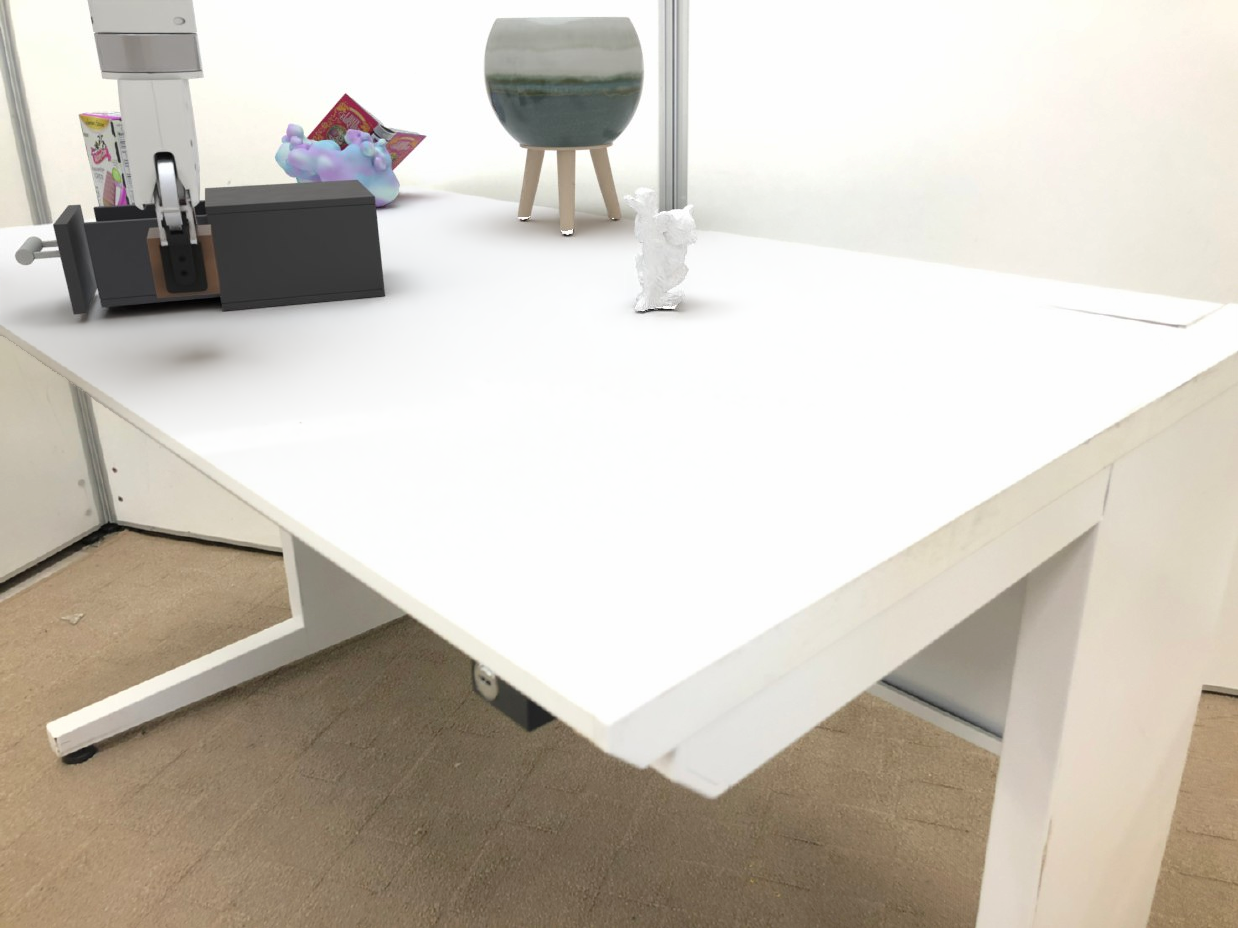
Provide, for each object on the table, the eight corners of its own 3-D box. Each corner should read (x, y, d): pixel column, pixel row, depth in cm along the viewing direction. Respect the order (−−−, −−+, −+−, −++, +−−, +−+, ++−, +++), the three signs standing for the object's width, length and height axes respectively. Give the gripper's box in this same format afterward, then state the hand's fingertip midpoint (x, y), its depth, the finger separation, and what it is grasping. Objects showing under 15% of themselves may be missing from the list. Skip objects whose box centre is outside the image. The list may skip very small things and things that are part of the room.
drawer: (24, 319, 97) (1, 228, 94) (42, 290, 108) (22, 207, 104) (239, 299, 104) (225, 213, 100) (236, 274, 114) (223, 196, 111)
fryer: (222, 311, 103) (204, 206, 99) (220, 282, 115) (204, 188, 110) (385, 296, 108) (375, 196, 104) (367, 270, 120) (357, 179, 116)
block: (157, 298, 84) (146, 238, 82) (159, 284, 89) (149, 227, 87) (220, 293, 86) (211, 234, 84) (219, 280, 90) (210, 224, 88)
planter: (657, 214, 154) (658, 17, 143) (625, 242, 135) (624, 16, 123) (520, 210, 159) (511, 19, 148) (470, 236, 139) (455, 18, 128)
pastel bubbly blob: (262, 186, 152) (312, 78, 147) (266, 163, 170) (311, 67, 166) (385, 248, 161) (436, 148, 156) (377, 220, 179) (422, 129, 175)
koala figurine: (638, 318, 99) (638, 194, 94) (607, 303, 105) (605, 186, 100) (710, 308, 103) (713, 188, 98) (676, 294, 108) (678, 180, 103)
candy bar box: (102, 234, 142) (76, 113, 136) (137, 229, 146) (113, 110, 139) (135, 245, 135) (109, 117, 129) (171, 239, 139) (148, 114, 132)
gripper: (107, 55, 86) (146, 266, 93) (88, 63, 71) (135, 312, 79) (201, 55, 88) (231, 260, 96) (201, 62, 74) (237, 304, 81)
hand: (188, 281), depth 87 cm, fingers closed on block, 5 cm apart
